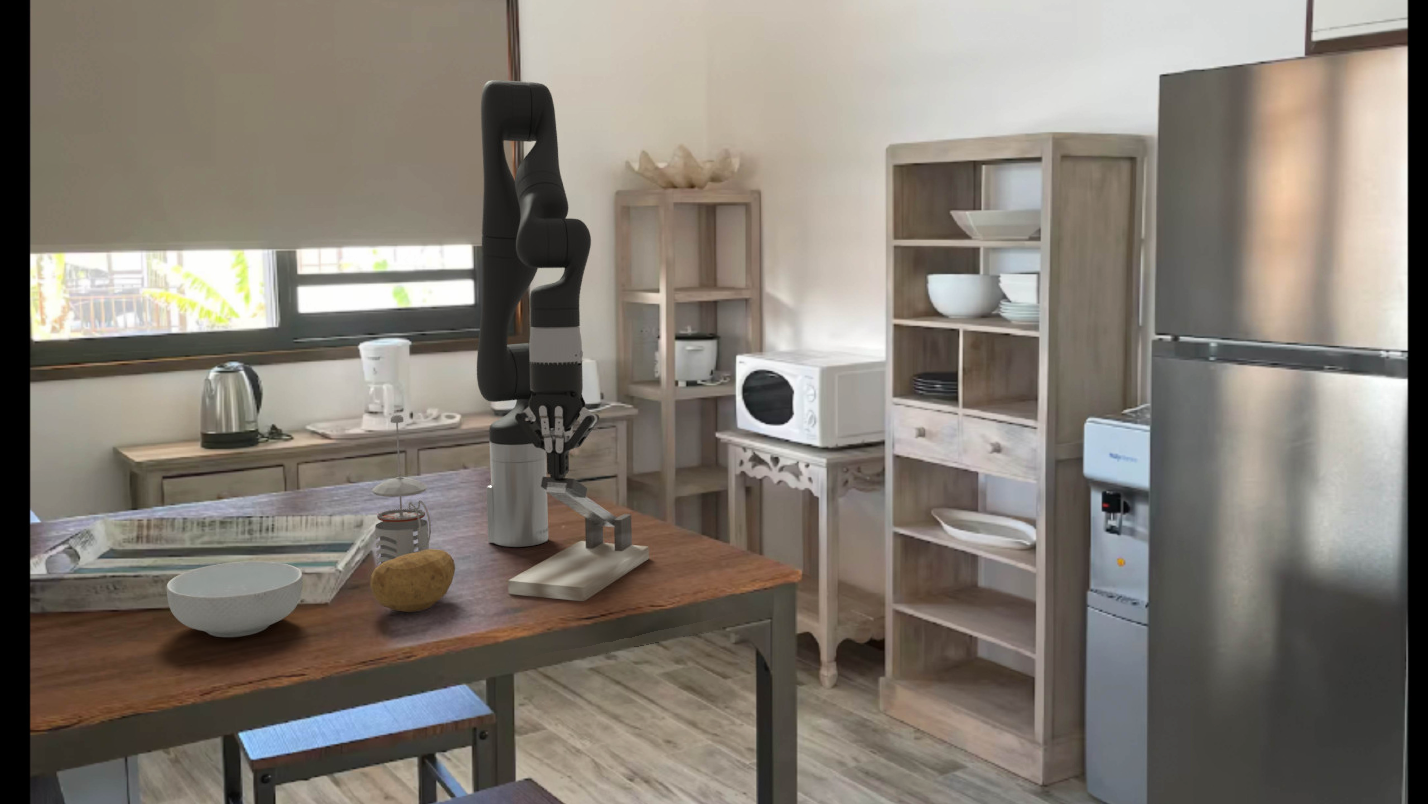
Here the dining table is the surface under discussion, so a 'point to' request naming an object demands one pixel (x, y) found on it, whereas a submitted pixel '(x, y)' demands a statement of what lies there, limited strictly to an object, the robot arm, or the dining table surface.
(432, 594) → the potato
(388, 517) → the french press
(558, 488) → the lever
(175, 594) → the cereal bowl
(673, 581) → the dining table surface
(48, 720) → the dining table surface
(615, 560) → the press base
